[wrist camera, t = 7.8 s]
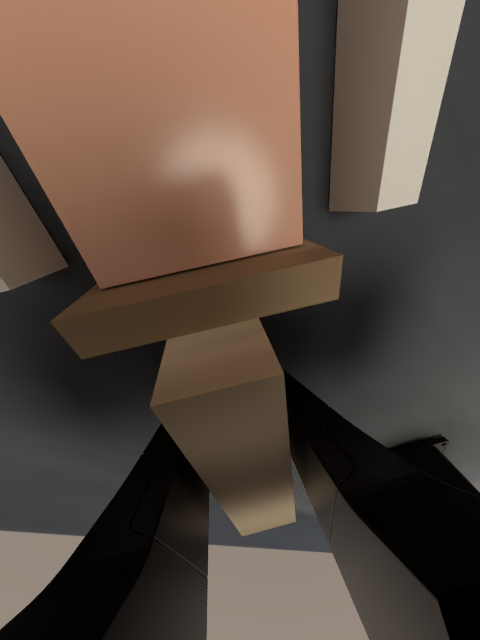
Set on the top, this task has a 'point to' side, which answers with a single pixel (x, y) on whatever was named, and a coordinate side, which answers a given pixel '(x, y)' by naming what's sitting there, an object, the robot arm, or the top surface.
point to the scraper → (217, 365)
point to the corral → (348, 122)
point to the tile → (159, 126)
